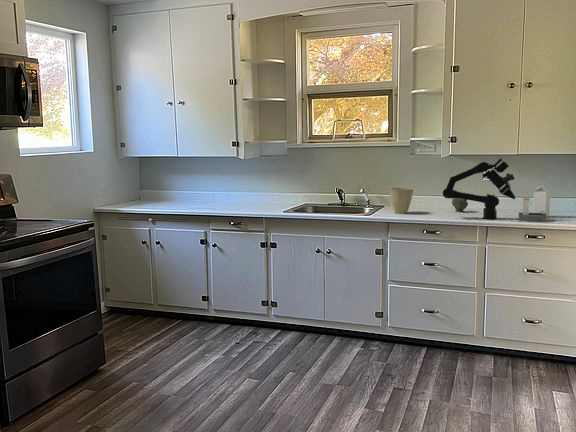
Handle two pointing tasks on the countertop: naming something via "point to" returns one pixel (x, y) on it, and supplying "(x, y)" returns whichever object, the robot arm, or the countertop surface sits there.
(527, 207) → the switch lever
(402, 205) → the plant pot
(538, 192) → the milk carton
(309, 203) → the countertop surface
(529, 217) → the switch housing
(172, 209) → the countertop surface
